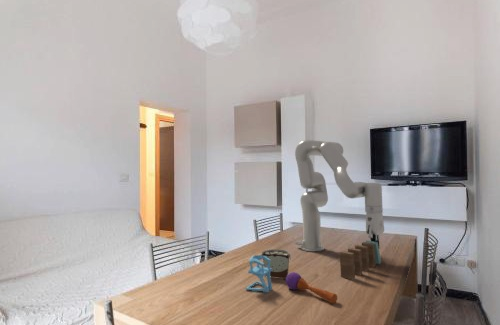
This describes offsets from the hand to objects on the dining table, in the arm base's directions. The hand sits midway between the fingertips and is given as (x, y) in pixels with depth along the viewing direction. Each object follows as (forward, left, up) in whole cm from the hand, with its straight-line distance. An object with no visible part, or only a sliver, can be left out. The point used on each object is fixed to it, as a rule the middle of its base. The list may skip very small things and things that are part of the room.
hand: (375, 248), depth 136 cm
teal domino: (-1, -1, -6) cm, 6 cm away
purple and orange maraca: (-31, -40, -7) cm, 51 cm away
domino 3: (-8, -11, -6) cm, 15 cm away
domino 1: (-15, -22, -6) cm, 27 cm away
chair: (-48, -37, -6) cm, 61 cm away
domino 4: (-4, -6, -6) cm, 10 cm away
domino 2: (-12, -17, -6) cm, 21 cm away
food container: (-43, -22, -6) cm, 49 cm away
